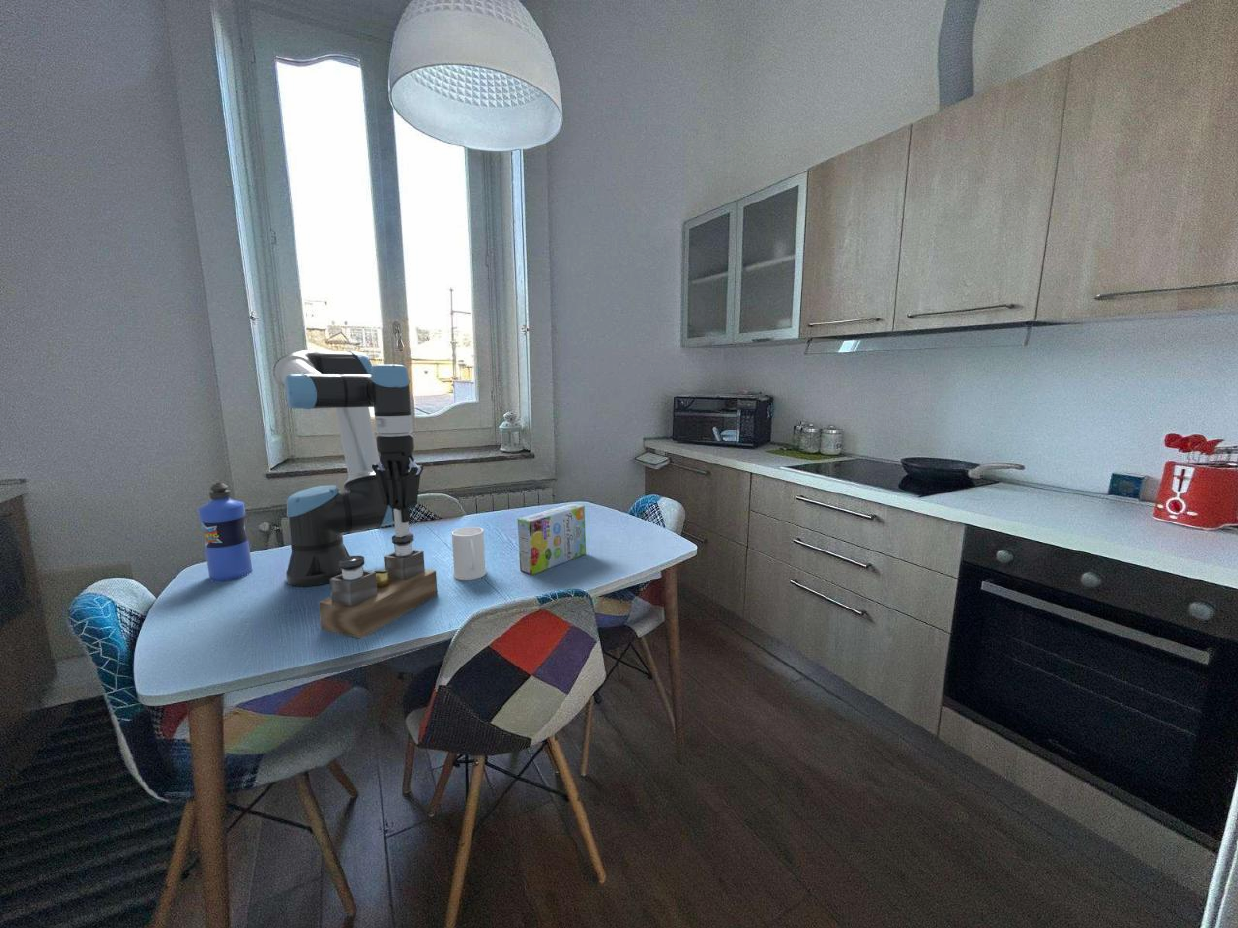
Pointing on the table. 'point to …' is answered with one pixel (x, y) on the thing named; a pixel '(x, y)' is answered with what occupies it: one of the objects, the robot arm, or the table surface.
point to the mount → (377, 596)
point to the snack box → (551, 537)
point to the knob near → (352, 567)
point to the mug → (468, 553)
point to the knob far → (403, 545)
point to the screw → (382, 578)
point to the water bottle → (225, 535)
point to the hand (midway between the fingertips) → (402, 535)
